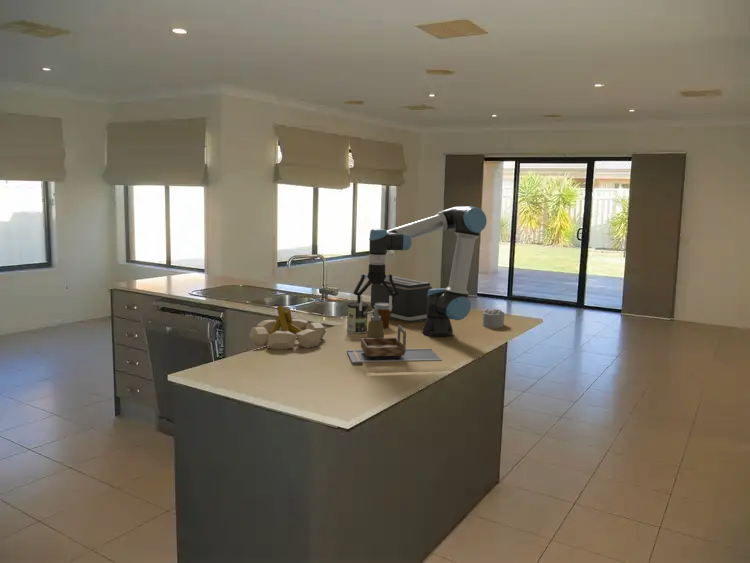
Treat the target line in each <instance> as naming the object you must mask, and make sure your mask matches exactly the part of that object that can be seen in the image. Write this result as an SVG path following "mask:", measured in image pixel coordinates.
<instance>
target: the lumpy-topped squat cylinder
mask: <svg viewBox="0 0 750 563" xmlns="http://www.w3.org/2000/svg"><path fill="white" fill-rule="evenodd" d="M504 325H505V311H502V310H501V309H498V308H491V309H488V308H486V309H484V311H483V314H482V326H483V327H484V328H487V329H498V328H499V329H500V327H501V328H503V327H504Z"/></svg>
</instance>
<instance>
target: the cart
mask: <svg viewBox="0 0 750 563" xmlns="http://www.w3.org/2000/svg"><path fill="white" fill-rule="evenodd" d="M401 333H402V334H403V335H402V342H401ZM406 342H407V332H406V330H405V328H403V327H402V325H401V324H398V325H397V337H384V338H367V337H365V338H363V337H362V338H360V348H361V350H363V351H364V353H365V355H366V356H368V357H369V359H370V360H373V359H374V358H375V356H394V357H395V358H396V359H400V356H404V353H405V350H406V349H407V348H406V346H407V345H406V344H407V343H406Z"/></svg>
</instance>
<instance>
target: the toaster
mask: <svg viewBox="0 0 750 563" xmlns="http://www.w3.org/2000/svg"><path fill="white" fill-rule="evenodd" d="M392 280H393V282H394V284H395V287H396V289H397V291H398V293H399V294H398V295H396V296H395V297H394V303H392V311H391V315H390V320H393V321H394V320H395V321H399V322H403V323H408V324H412V323H420V322H423V321H424V322H425V321H426V318H427V294H428V290H429V289H433V286H431V282H426V281H422V280H416V279H410V278H406V277H405V278H404V277H399V276H392ZM384 282H385V283H386V284H387V286H388V287H389V288H390V289H391V291H392V292H393V293H394V290H393V288H392V286H391V283H390V281H389V280H388V279H387V278H385V280H384ZM389 296H391V294H390V293H389V292H388V290H387V289H386V288H385V287H384V285H383V284H380V285H378V284H371V285H370V307H371V309H372V312H373V313H374V310H375V307H374V306H375V304H376V303H389ZM372 312H371V313H372ZM373 313H372V314H373Z"/></svg>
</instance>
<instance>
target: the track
mask: <svg viewBox="0 0 750 563" xmlns="http://www.w3.org/2000/svg"><path fill="white" fill-rule="evenodd" d="M347 353H348V354H347ZM346 354H347V356H348V358H349V361H350V360H351V361H350V363H351V362H352V363H351V365H352V364H363V365H364V363H390V362H392V363H393V362H395V363H396V362H400V363H401V362H429V361H430V362H432V361H433V362H434V361H435V362H437V361H440V362H442V361H443V359H442V358H440V356H439V355H437V353H436V352H434V350H433V349H432V348H429V347H428V348H406V350H405V353H404V356H400V359H396V358H395V357H394V356H375V358H374V359H373V360H370V359H369V357H368V356H366V355H365V353H364V351H363V349H347V350H346Z"/></svg>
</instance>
